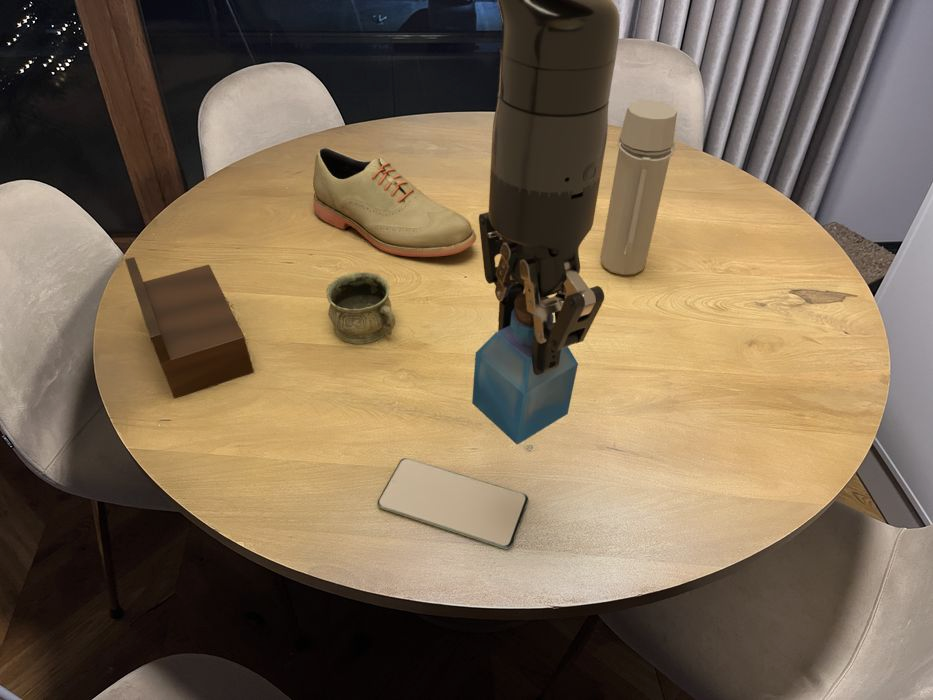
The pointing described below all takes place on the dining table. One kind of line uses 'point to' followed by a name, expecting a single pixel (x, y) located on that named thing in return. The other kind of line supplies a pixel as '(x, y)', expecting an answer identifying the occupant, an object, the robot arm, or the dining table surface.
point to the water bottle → (638, 185)
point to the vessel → (360, 307)
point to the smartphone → (454, 502)
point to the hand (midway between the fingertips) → (526, 350)
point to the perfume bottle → (521, 379)
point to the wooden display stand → (191, 328)
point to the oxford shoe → (385, 207)
